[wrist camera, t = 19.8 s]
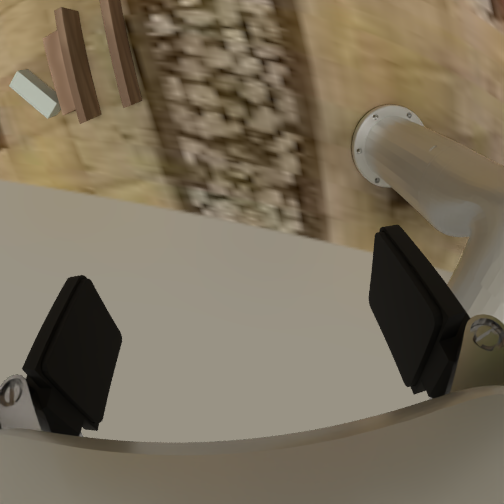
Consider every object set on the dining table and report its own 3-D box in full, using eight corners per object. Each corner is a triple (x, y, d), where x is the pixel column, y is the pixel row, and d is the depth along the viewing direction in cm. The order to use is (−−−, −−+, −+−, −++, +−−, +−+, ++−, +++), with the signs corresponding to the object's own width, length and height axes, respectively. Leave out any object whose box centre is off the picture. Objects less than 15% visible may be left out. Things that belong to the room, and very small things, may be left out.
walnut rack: (118, -6, 26) (105, -14, 21) (142, 100, 35) (131, 105, 30) (71, 14, 26) (54, 10, 22) (95, 116, 35) (79, 123, 31)
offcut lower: (72, 27, 27) (64, 26, 25) (92, 102, 34) (84, 105, 32) (51, 38, 27) (42, 38, 25) (70, 112, 34) (63, 115, 32)
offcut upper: (17, 70, 26) (9, 85, 27) (56, 103, 30) (47, 118, 31) (28, 69, 29) (20, 83, 30) (66, 100, 33) (57, 114, 34)
